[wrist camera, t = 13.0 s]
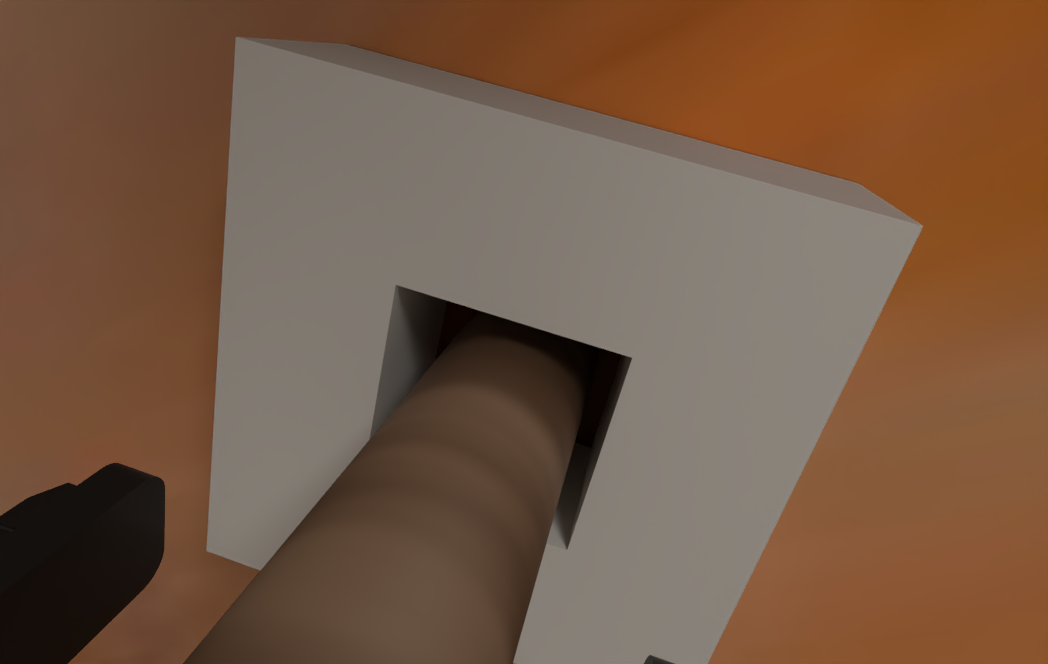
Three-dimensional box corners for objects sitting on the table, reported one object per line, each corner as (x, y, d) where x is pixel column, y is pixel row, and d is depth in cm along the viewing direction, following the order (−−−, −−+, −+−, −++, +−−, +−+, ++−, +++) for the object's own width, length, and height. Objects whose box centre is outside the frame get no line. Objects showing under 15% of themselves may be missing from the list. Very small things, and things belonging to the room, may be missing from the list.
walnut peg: (484, 266, 20) (139, 620, 7) (614, 306, 20) (493, 754, 7) (458, 382, 22) (138, 839, 9) (579, 421, 21) (425, 958, 8)
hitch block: (345, 44, 18) (235, 36, 14) (858, 183, 17) (923, 225, 12) (295, 459, 24) (206, 550, 20) (678, 591, 23) (678, 722, 18)
